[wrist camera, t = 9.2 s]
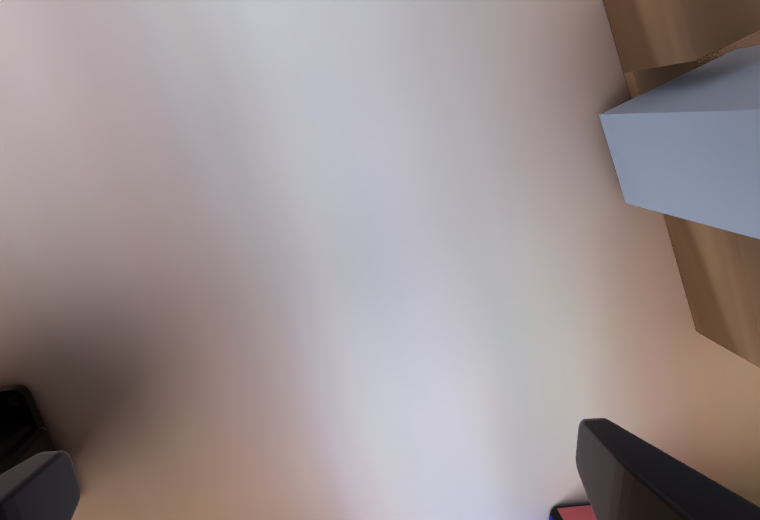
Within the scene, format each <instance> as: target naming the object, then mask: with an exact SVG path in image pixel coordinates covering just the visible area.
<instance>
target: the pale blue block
mask: <svg viewBox="0 0 760 520" xmlns="http://www.w3.org/2000/svg"><path fill="white" fill-rule="evenodd" d="M599 117H600V120H601V123H602V126H603V130H604V133H605V136H606V140H607V143H608V146H609V150H610V153H611V156H612V160H613V163H614V166H615V170H616V173H617V176H618V179H619V183H620V186H621V189H622V193H623V196H624V199H625V203H627V204H631V205H634V206H638V207H642V208H646V209H649V210H653V211H657V212H660V213H664V214H668V215H671V216H675V217H679V218H683V219H686V220H690V221H694V222H697V223H701V224H705V225H709V226H712V227H716V228H720V229H723V230H727V231H731V232H735V233H738V234H742V235H746V236H749V237H753V238H757V239H760V45H755V46H750V47H745V48H739V49H735V50H733V51H731V52H729V53H727V54H725V55H722V56H720V57H718V58H716V59H714V60H712V61H710V62H708V63H706V64H704V65H702V66H700V67H697V68H695V69H693V70H691V71H689V72H687V73H685V74H683V75H681V76H679V77H677V78H675V79H672V80H670V81H668V82H666V83H664V84H662V85H660V86H658V87H656V88H654V89H652V90H649V91H647V92H645V93H643V94H641V95H639V96H637V97H635V98H633V99H631V100H629V101H627V102H624V103H622V104H620V105H618V106H616V107H614V108H612V109H610V110H608V111H606V112H604V113H602V114H599Z"/></svg>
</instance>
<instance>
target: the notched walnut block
mask: <svg viewBox="0 0 760 520" xmlns="http://www.w3.org/2000/svg"><path fill="white" fill-rule="evenodd" d="M603 2H604V5H605V9H606V12H607V16H608V19H609V23H610V26H611V30H612V34H613V37H614V41H615V44H616V48H617V51H618V55H619V58H620V62H621V65H622V69H623V73H624V76H625V80H626V83H627V87H628V90H629V94H630V97H631V99H633V98H635V97H637V96H639V95H641V94H643V93H645V92H647V91H649V90H652V89H654V88H656V87H658V86H660V85H662V84H664V83H666V82H668V81H670V80H672V79H675V78H677V77H679V76H681V75H683V74H685V73H687V72H689V71H691V70H693V69H695V68H696V65H695V61H696V60H698V59H700V58H702V57H704V56H706V55H708V54H710V53H712V52H714V51H716V50H718V49H720V48H722V47H725V46H727V45H729V44H731V43H733V42H735V41H737V40H739V39H741V38H743V37H745V36H747V35H749V34H751V33H753V32H756V31H758V30H760V0H603ZM663 214H664V213H663ZM664 218H665V221H666V225H667V228H668V232H669V236H670V239H671V243H672V246H673V250H674V253H675V257H676V260H677V264H678V267H679V271H680V274H681V278H682V282H683V285H684V289H685V292H686V296H687V299H688V303H689V306H690V310H691V313H692V317H693V321H694V324H695V328H696V331H697V332H698V333H700V334H702V335H703V336H705V337H707V338H709V339H710V340H712V341H714V342H716V343H717V344H719V345H721V346H723V347H725V348H726V349H728V350H730V351H732V352H733V353H735V354H737V355H739V356H740V357H742V358H744V359H746V360H747V361H749V362H751V363H753V364H754V365H756V366H758V367H760V239H757V238H753V237H749V236H746V235H742V234H738V233H735V232H731V231H727V230H723V229H720V228H716V227H712V226H709V225H705V224H701V223H697V222H694V221H690V220H686V219H683V218H679V217H675V216H671V215H668V214H664Z"/></svg>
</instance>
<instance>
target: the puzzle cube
mask: <svg viewBox="0 0 760 520" xmlns="http://www.w3.org/2000/svg"><path fill="white" fill-rule="evenodd" d="M549 520H596V517H595V515H594V512H593V509H592V507H591V505H585V506H574V507H564V508H554V509H552V511H551V513H550V518H549Z"/></svg>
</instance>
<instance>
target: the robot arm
mask: <svg viewBox="0 0 760 520" xmlns="http://www.w3.org/2000/svg"><path fill="white" fill-rule="evenodd" d="M13 395H15V396H17V397H18V398H19V399H20V400H16V399H15V398H14V397H13ZM576 465H577V469H578V473H579V475H580V478H581V481H582V483H583V486H584V488H585V491H586V494H587V496H588V499H589V502H590V504H591V507H592V509H593V512H594V515H595V517H596V520H760V507H758V506H756V505H755V504H753V503H751V502H749V501H748V500H746V499H744V498H742V497H741V496H739V495H737V494H736V493H734V492H732V491H730V490H729V489H727V488H725V487H723V486H722V485H720V484H718V483H717V482H715V481H713V480H711V479H710V478H708V477H706V476H704V475H703V474H701V473H699V472H697V471H696V470H694V469H692V468H691V467H689V466H687V465H685V464H684V463H682V462H680V461H678V460H677V459H675V458H673V457H672V456H670V455H668V454H666V453H665V452H663V451H661V450H659V449H658V448H656V447H654V446H653V445H651V444H649V443H647V442H646V441H644V440H642V439H640V438H639V437H637V436H635V435H634V434H632V433H630V432H628V431H627V430H625V429H623V428H621V427H620V426H618V425H616V424H614V423H613V422H611V421H609V420H607V419H605V418H593V419H583V420H582V421H581V422H580V424H579V429H578V439H577V450H576ZM79 499H80V485H79V482H78V478H77V475H76V472H75V469H74V466H73V462H72V459H71V457H70V455H69V454H68V453H67V452H65V451H56V449H55V447H54V445H53V442H52V440H51V438H50V435H49V433H48V431H47V429H46V427H45V425H44V422H43V420H42V418H41V415H40V413H39V411H38V408H37V406H36V404H35V401H34V399H33V396H32V394H31V392H30V391H29V389H27V388H26V387H25V386H21V385H13V386H7V387H2V388H0V520H71V518H72V516H73V514H74V512H75V509H76V507H77V505H78V502H79Z"/></svg>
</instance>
